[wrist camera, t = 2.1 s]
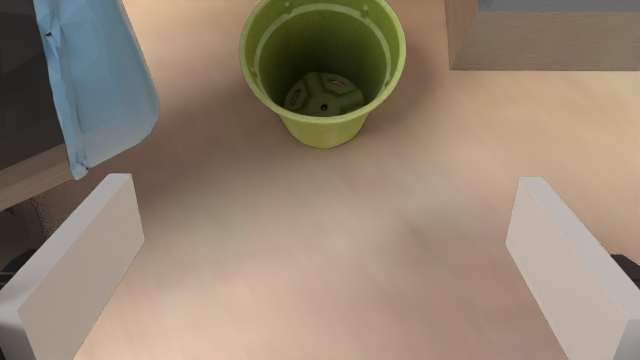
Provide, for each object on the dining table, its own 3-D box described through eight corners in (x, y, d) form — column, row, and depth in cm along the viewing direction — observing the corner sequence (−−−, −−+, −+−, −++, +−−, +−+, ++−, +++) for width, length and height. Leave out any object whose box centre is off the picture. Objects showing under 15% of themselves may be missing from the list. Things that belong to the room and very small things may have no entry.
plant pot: (360, 191, 33) (372, 147, 25) (238, 144, 35) (210, 87, 26) (405, 80, 36) (428, 6, 28) (289, 39, 37) (279, -43, 29)
